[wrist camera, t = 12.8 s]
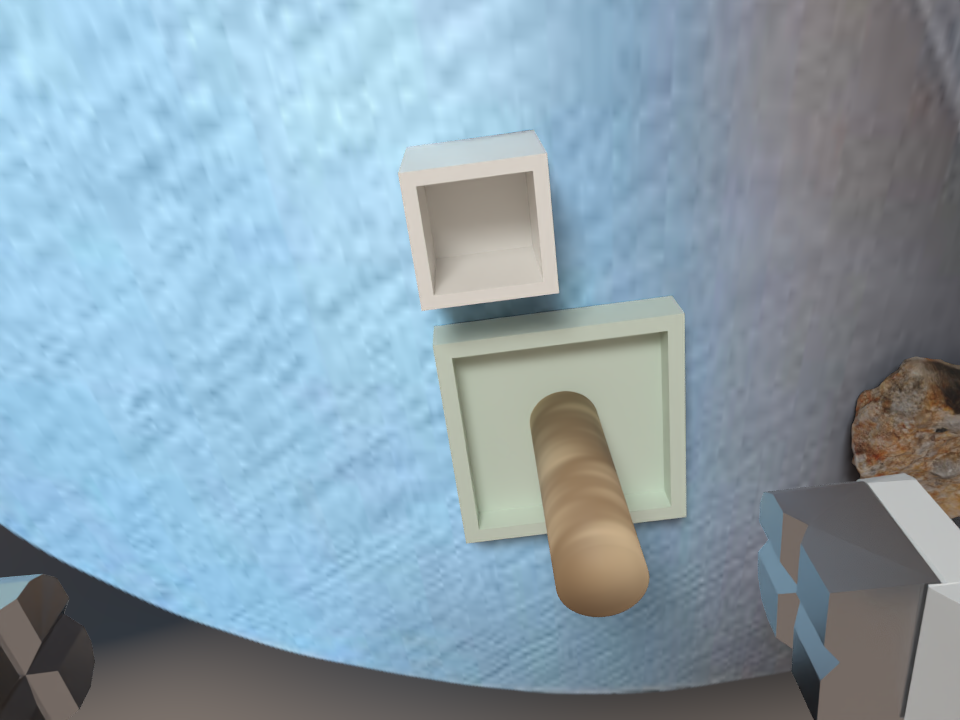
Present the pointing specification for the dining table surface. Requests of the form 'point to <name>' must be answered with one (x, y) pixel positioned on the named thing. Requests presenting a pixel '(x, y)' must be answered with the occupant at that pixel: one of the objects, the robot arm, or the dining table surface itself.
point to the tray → (553, 368)
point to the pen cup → (479, 219)
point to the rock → (913, 429)
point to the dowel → (585, 509)
